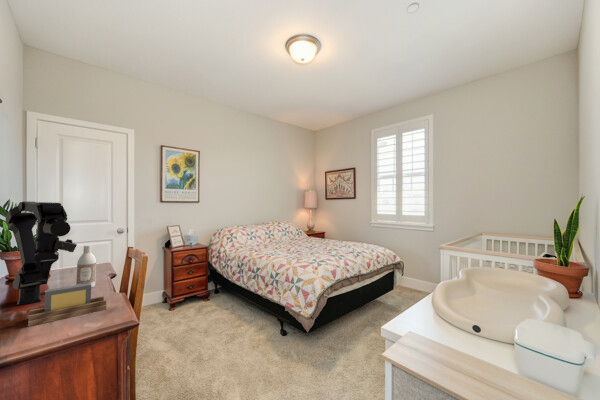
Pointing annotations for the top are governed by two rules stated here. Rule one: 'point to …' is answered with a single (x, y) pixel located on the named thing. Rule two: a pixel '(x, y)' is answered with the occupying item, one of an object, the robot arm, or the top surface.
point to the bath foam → (86, 267)
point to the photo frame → (67, 297)
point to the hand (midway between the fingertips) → (45, 275)
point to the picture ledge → (65, 312)
